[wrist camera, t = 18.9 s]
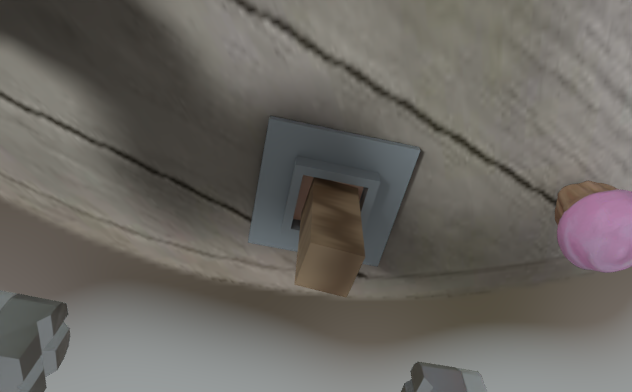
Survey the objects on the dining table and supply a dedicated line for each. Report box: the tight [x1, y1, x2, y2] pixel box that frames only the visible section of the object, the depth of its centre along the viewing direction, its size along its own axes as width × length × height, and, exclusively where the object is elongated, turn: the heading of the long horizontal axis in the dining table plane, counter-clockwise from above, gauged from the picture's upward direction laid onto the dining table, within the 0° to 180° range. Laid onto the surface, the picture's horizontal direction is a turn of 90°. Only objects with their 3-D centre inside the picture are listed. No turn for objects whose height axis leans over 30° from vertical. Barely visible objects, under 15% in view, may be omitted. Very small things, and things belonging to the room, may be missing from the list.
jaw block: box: [295, 177, 365, 297], centre depth 46 cm, size 5×5×12 cm
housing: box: [248, 116, 420, 267], centre depth 51 cm, size 16×16×3 cm
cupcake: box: [555, 181, 632, 272], centre depth 47 cm, size 9×9×10 cm
